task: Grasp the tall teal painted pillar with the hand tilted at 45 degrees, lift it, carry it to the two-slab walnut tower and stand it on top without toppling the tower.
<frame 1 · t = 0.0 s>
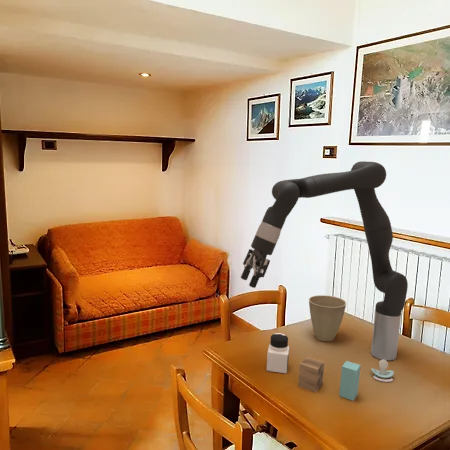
hand: (247, 283, 142), 31 cm above the table, tool tilted 20°, fingers open, 8 cm apart
plant pot: (324, 338, 177), on the table
tower base slab: (310, 385, 140), on the table, touching tower upper slab
pacifier: (382, 378, 146), on the table
pillar: (348, 395, 135), on the table
medicine bottle: (277, 368, 151), on the table
tower upper slab: (311, 374, 139), point 4 cm above the table, touching tower base slab
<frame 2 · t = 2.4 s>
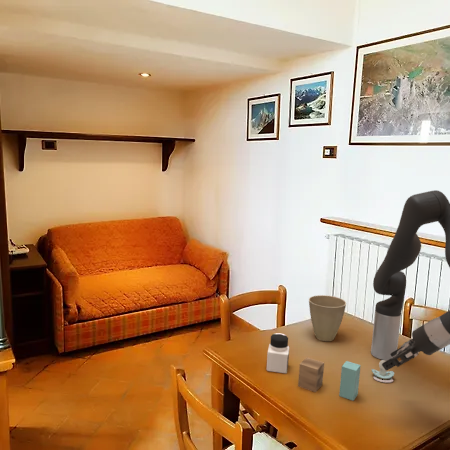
hand: (388, 361, 126), 15 cm above the table, tool tilted 45°, fingers open, 8 cm apart
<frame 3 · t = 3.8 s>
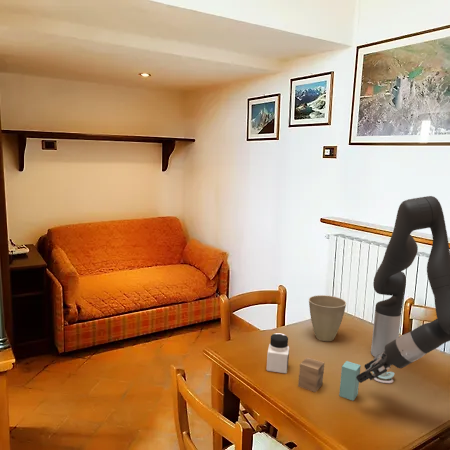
hand: (362, 374, 131), 8 cm above the table, tool tilted 45°, fingers open, 8 cm apart
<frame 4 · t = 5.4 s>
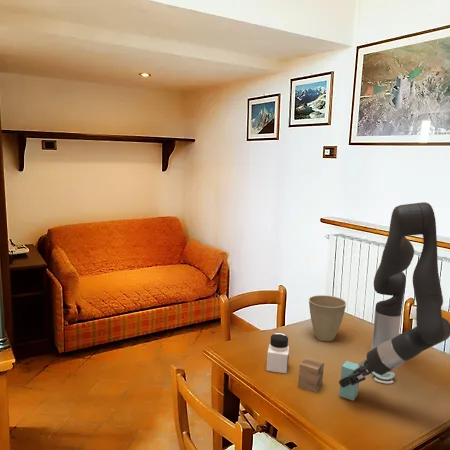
hand: (343, 381, 135), 4 cm above the table, tool tilted 45°, fingers closed on pillar, 4 cm apart
pillar: (348, 395, 135), on the table, touching gripper
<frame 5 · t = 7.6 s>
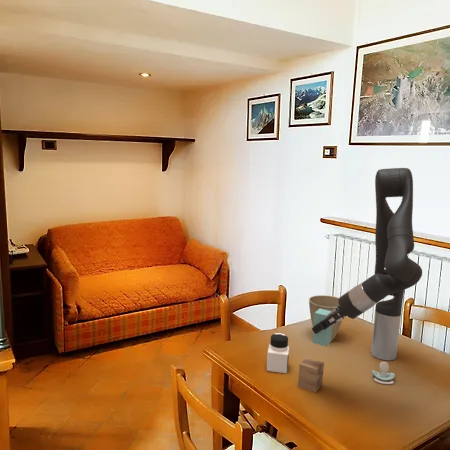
hand: (316, 328, 136), 20 cm above the table, tool tilted 45°, fingers closed on pillar, 4 cm apart
pillar: (321, 342, 136), point 16 cm above the table, touching gripper
when the fingers open (13 cm above the table, at t = 9.8 s): pillar drops 1 cm, resting on tower upper slab.
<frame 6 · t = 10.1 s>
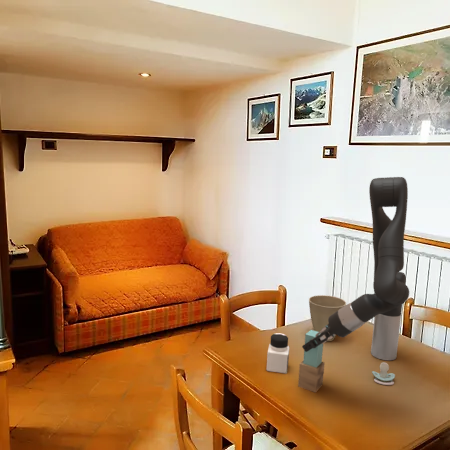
hand: (309, 344, 138), 14 cm above the table, tool tilted 45°, fingers open, 7 cm apart
pillar: (312, 362, 138), point 8 cm above the table, touching tower upper slab
tower upper slab: (311, 374, 139), point 4 cm above the table, touching pillar, tower base slab
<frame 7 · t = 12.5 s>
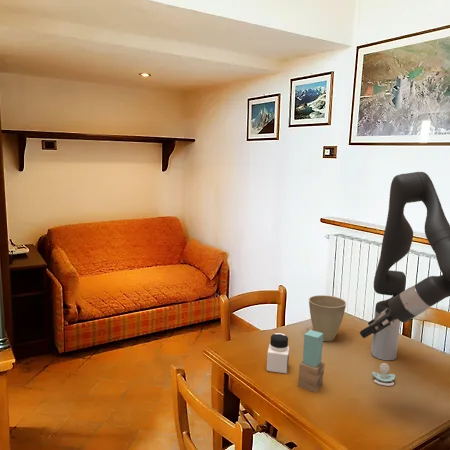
hand: (365, 330, 131), 22 cm above the table, tool tilted 45°, fingers open, 8 cm apart
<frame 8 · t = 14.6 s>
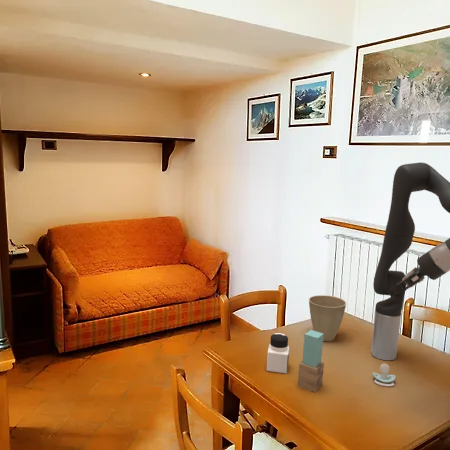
hand: (393, 290, 129), 35 cm above the table, tool tilted 45°, fingers open, 8 cm apart
at the end: pillar 0.0 cm off-centre on the tower upper slab, point 4.0 cm above the tower upper slab's base; pillar tilted 1°; tower upper slab tilted 0° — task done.
